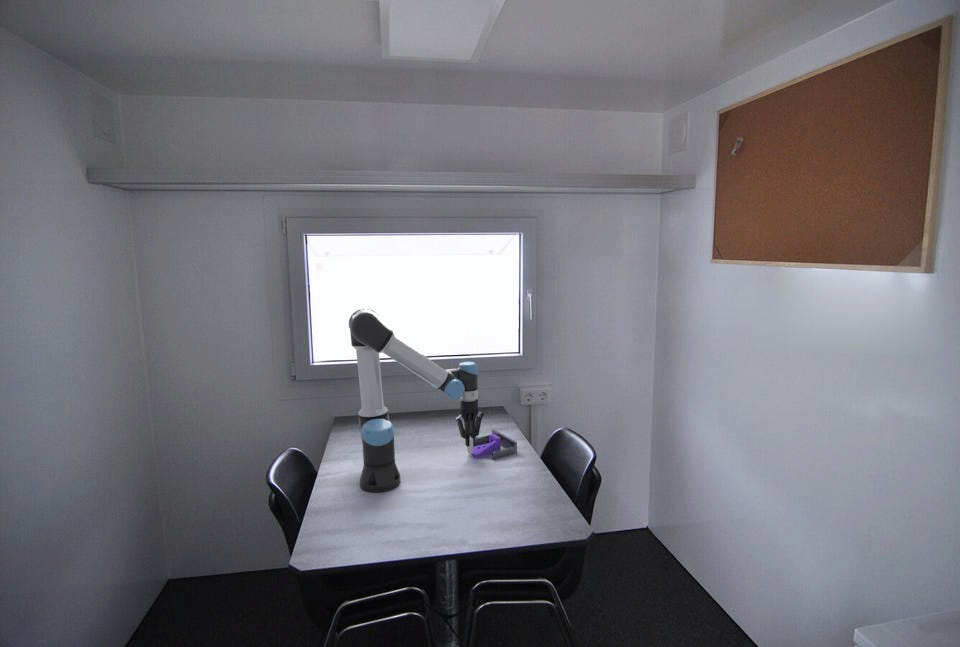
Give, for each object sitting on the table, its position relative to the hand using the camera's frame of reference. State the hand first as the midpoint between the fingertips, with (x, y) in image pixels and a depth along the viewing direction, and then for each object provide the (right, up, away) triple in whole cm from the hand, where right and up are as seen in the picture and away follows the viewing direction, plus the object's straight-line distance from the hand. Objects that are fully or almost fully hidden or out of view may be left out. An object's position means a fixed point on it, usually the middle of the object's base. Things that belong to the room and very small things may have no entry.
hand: (470, 452), depth 217 cm
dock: (+10, 0, +6) cm, 11 cm away
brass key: (+1, +1, +15) cm, 15 cm away
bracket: (+6, -1, +3) cm, 7 cm away
